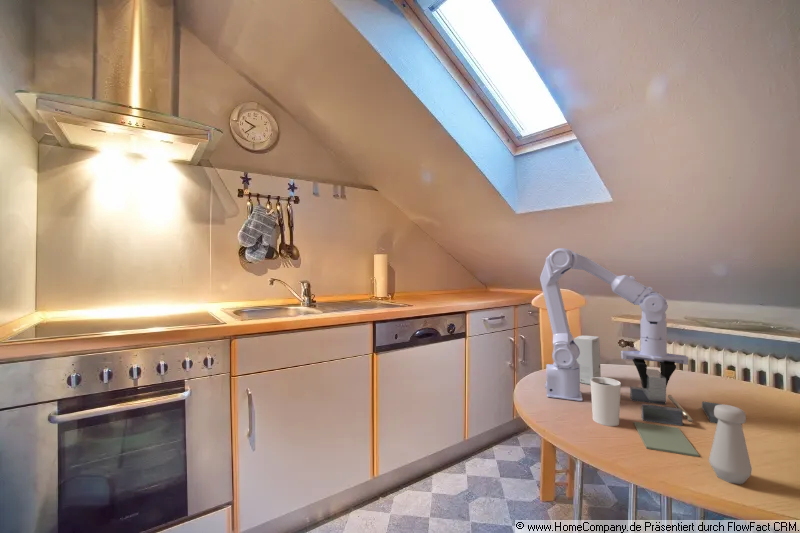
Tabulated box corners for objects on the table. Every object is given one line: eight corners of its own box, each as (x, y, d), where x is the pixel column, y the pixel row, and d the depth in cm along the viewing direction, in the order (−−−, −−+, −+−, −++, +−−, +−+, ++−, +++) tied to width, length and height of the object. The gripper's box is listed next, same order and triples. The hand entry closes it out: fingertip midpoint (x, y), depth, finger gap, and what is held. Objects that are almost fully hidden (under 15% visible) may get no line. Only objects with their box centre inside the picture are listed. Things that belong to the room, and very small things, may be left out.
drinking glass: (624, 428, 85) (623, 386, 85) (593, 424, 87) (592, 384, 87) (617, 417, 91) (617, 378, 91) (588, 413, 93) (588, 376, 93)
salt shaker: (700, 469, 68) (699, 401, 68) (728, 467, 68) (727, 400, 68) (731, 488, 62) (731, 414, 62) (761, 486, 62) (760, 412, 62)
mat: (646, 448, 76) (646, 446, 76) (633, 423, 88) (633, 421, 88) (699, 457, 72) (699, 455, 72) (678, 429, 84) (678, 427, 84)
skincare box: (593, 386, 114) (593, 340, 114) (573, 382, 119) (573, 337, 119) (601, 379, 120) (600, 336, 120) (582, 376, 125) (581, 333, 125)
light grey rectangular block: (649, 399, 92) (649, 376, 92) (642, 389, 99) (641, 368, 99) (666, 401, 90) (666, 378, 90) (657, 391, 98) (657, 369, 98)
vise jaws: (643, 420, 89) (643, 406, 89) (630, 398, 104) (630, 386, 104) (693, 427, 85) (692, 412, 85) (672, 403, 100) (672, 390, 100)
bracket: (722, 411, 95) (722, 403, 95) (733, 428, 85) (733, 419, 85) (701, 408, 97) (701, 400, 97) (710, 424, 88) (710, 415, 88)
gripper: (624, 338, 94) (624, 389, 94) (692, 342, 88) (692, 397, 88) (619, 333, 100) (619, 381, 100) (682, 337, 95) (683, 387, 95)
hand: (653, 388), depth 95 cm, fingers closed on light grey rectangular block, 4 cm apart
